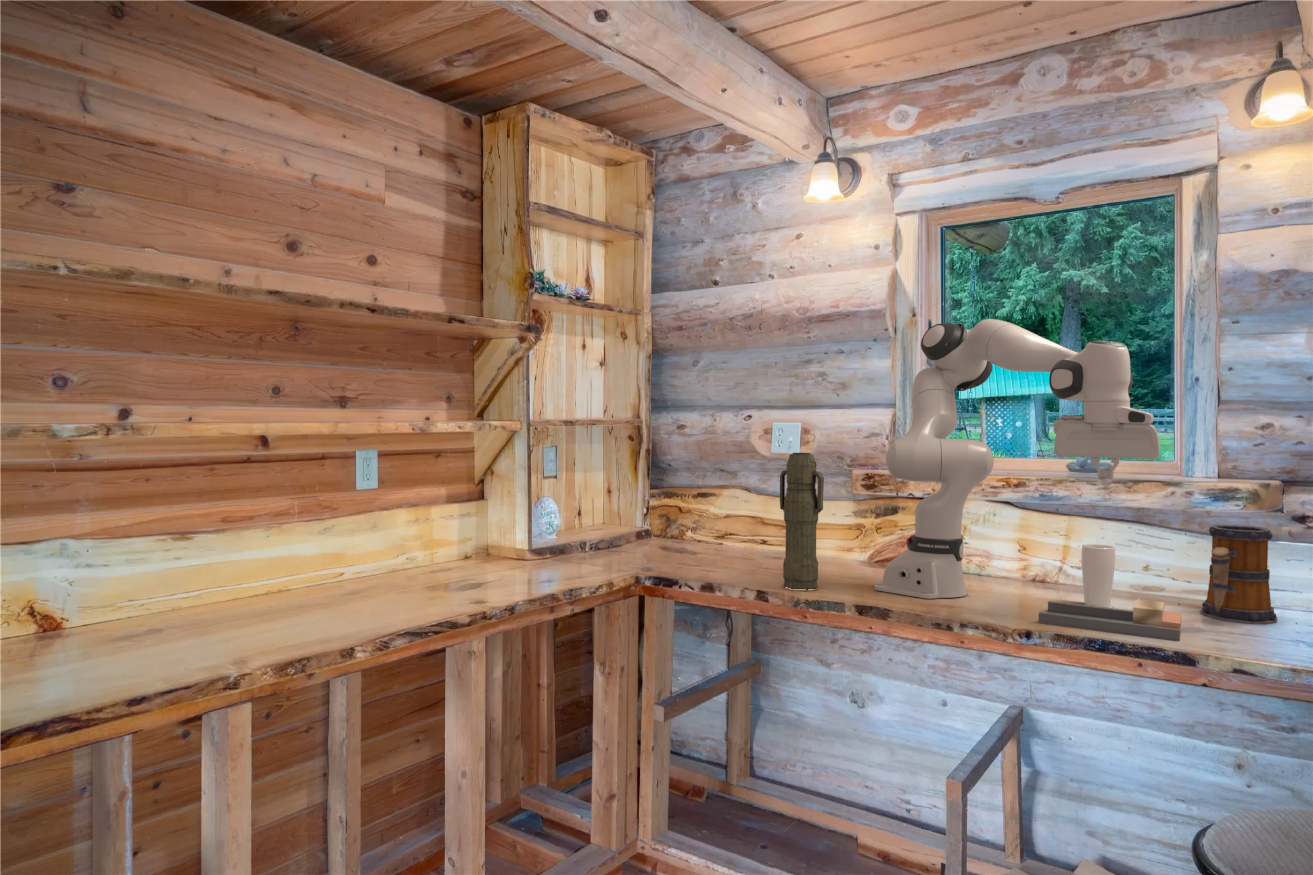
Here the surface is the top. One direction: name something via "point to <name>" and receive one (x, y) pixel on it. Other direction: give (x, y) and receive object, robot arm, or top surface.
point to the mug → (1239, 575)
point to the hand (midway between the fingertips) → (1105, 478)
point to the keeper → (1148, 612)
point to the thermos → (801, 520)
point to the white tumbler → (1098, 574)
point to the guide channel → (1109, 620)
